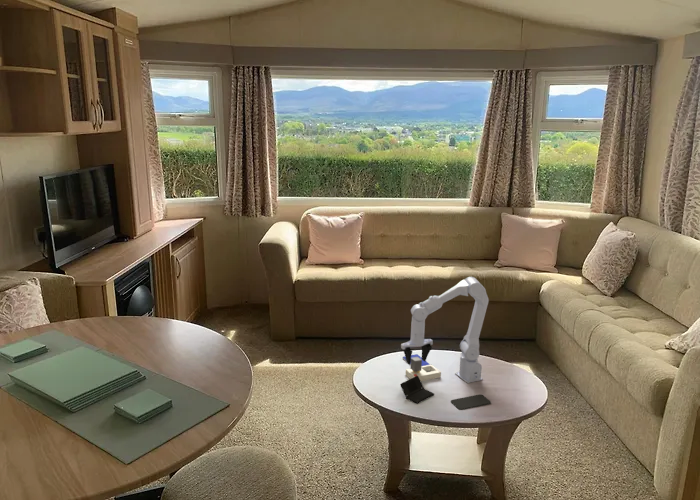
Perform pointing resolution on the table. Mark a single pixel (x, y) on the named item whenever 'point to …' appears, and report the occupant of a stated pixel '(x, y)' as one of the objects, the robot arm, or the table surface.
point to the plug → (416, 364)
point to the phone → (470, 402)
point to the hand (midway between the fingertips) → (416, 361)
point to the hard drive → (419, 357)
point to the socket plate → (424, 373)
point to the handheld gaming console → (415, 390)
